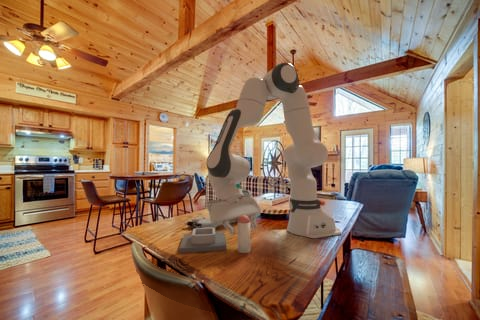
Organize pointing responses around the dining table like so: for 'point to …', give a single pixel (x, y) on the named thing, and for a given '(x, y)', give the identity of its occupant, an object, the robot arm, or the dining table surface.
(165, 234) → the dining table surface
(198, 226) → the robot toy
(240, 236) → the pink-topped post
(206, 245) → the jig
